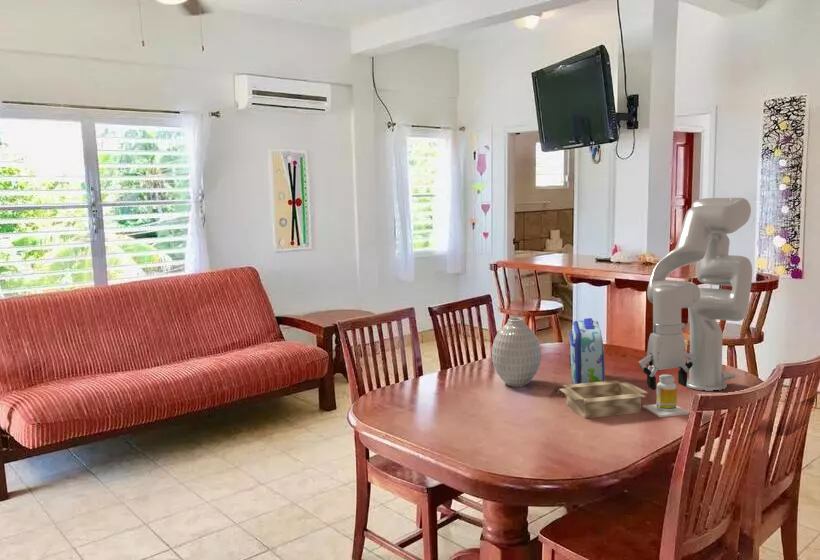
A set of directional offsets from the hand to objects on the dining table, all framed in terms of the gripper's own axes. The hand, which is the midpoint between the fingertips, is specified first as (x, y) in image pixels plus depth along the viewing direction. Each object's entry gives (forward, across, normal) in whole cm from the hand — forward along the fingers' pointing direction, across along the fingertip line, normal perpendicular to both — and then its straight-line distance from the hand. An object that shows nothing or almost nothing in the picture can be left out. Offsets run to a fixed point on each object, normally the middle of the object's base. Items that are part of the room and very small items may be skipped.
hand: (667, 386), depth 193 cm
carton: (+7, +17, -6) cm, 19 cm away
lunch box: (+8, +10, -31) cm, 34 cm away
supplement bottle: (+6, 0, 0) cm, 7 cm away
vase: (+7, +32, -38) cm, 50 cm away
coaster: (+7, +1, +1) cm, 7 cm away
